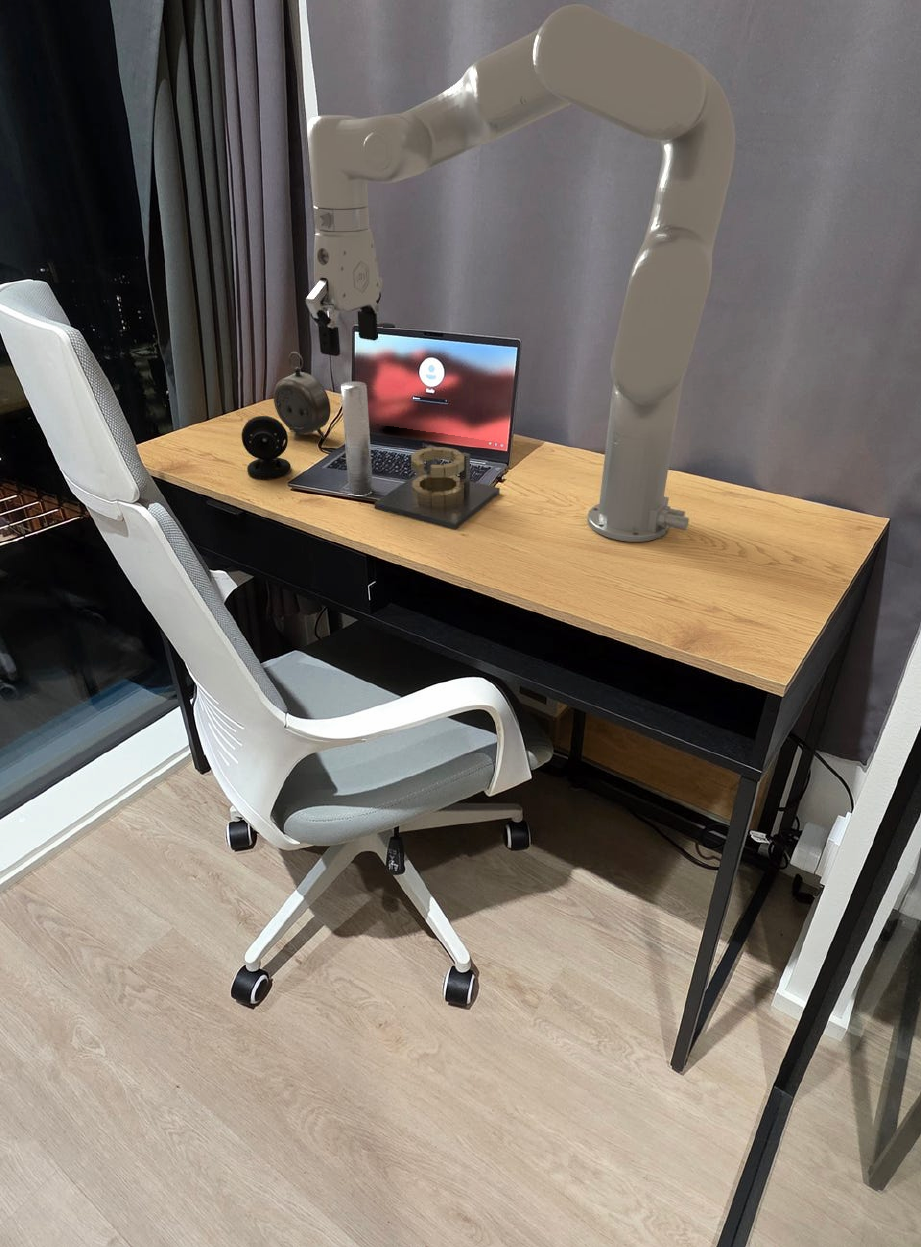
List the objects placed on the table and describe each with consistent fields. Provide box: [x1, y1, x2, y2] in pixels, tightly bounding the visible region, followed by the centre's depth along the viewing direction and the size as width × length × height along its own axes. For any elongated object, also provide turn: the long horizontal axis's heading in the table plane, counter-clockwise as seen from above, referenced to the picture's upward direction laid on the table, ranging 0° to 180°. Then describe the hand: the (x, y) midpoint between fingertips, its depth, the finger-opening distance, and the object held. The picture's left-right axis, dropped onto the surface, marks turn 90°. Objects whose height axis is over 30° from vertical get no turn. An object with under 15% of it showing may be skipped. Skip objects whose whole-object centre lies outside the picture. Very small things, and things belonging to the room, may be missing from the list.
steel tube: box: [340, 381, 374, 495], centre depth 128 cm, size 4×4×18 cm
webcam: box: [241, 415, 292, 480], centre depth 137 cm, size 8×8×10 cm
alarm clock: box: [273, 351, 332, 441], centre depth 149 cm, size 11×5×16 cm, turn 58°
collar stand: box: [374, 444, 501, 531], centre depth 128 cm, size 15×15×8 cm
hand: (349, 346), depth 120 cm, fingers open, 9 cm apart
